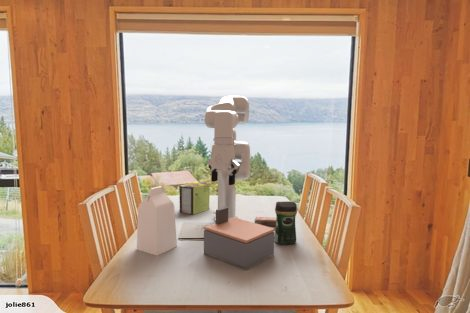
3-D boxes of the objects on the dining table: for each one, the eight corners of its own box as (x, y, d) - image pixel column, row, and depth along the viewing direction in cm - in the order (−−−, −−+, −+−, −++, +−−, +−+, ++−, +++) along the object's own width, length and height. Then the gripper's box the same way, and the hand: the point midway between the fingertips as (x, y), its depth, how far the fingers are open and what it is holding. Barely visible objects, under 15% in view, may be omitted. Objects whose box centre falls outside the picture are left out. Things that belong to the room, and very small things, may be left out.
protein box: (209, 208, 208) (210, 183, 206) (193, 215, 195) (193, 187, 193) (195, 206, 214) (196, 181, 212) (179, 212, 201) (178, 185, 199)
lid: (203, 229, 141) (204, 212, 140) (233, 219, 155) (233, 203, 154) (246, 243, 127) (246, 224, 126) (274, 231, 140) (275, 214, 140)
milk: (156, 255, 140) (156, 192, 137) (136, 249, 146) (135, 188, 143) (177, 246, 150) (176, 186, 147) (157, 240, 156) (156, 183, 153)
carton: (203, 253, 143) (204, 230, 141) (232, 241, 156) (233, 220, 155) (245, 270, 128) (246, 244, 127) (273, 255, 142) (274, 232, 141)
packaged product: (254, 220, 173) (254, 214, 183) (254, 230, 174) (254, 223, 184) (291, 221, 172) (289, 215, 182) (290, 231, 173) (289, 224, 182)
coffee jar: (293, 238, 161) (294, 199, 159) (297, 245, 154) (299, 204, 151) (272, 239, 161) (273, 199, 158) (276, 245, 153) (277, 204, 150)
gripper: (202, 140, 145) (201, 181, 147) (233, 143, 134) (232, 187, 136) (214, 139, 151) (214, 178, 153) (245, 142, 140) (244, 184, 142)
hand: (222, 182), depth 145 cm, fingers open, 9 cm apart
